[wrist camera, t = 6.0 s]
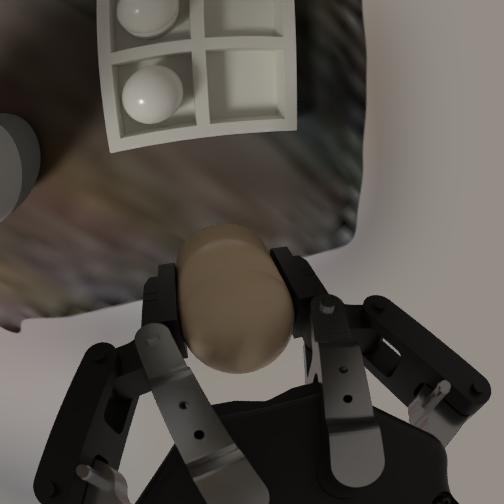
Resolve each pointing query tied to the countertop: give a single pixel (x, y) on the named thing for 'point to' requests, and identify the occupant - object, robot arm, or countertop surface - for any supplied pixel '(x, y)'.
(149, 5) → the white egg middle
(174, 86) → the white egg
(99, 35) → the egg carton
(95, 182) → the countertop surface
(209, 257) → the tan egg
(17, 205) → the smart speaker
